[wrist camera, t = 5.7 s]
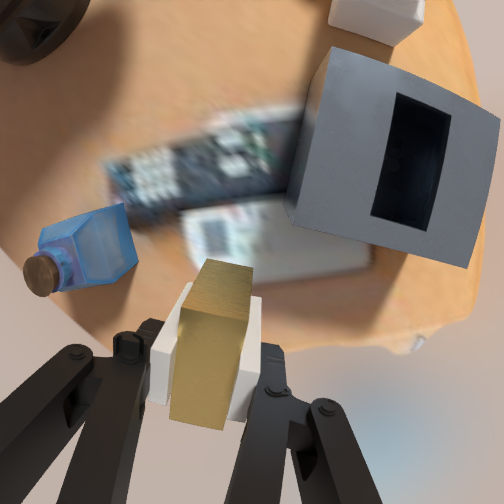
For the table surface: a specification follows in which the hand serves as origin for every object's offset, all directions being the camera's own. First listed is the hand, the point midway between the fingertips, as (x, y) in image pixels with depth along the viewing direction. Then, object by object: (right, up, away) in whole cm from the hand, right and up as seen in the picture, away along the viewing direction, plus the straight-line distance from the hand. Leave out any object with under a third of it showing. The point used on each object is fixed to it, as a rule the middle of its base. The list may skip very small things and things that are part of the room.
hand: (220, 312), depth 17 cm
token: (0, 0, +1) cm, 1 cm away
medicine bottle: (+13, +28, +7) cm, 31 cm away
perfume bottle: (-13, +5, +14) cm, 20 cm away
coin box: (+13, +12, +11) cm, 20 cm away
